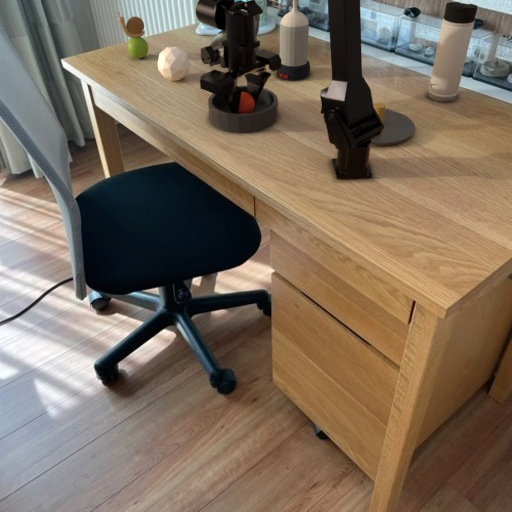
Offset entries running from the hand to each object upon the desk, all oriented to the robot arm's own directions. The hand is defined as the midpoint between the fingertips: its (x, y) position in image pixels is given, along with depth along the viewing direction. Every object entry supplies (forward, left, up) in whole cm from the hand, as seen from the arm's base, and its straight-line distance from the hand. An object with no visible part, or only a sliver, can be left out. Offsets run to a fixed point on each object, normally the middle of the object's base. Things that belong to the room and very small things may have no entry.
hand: (243, 110), depth 113 cm
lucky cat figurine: (+36, +1, -2) cm, 36 cm away
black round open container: (0, 0, -1) cm, 1 cm away
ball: (0, 0, +2) cm, 2 cm away
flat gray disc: (-8, -27, -1) cm, 28 cm away
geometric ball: (+22, +16, -2) cm, 27 cm away
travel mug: (+6, -45, -2) cm, 45 cm away
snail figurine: (+37, +27, -2) cm, 46 cm away
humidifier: (+22, -13, -2) cm, 26 cm away
